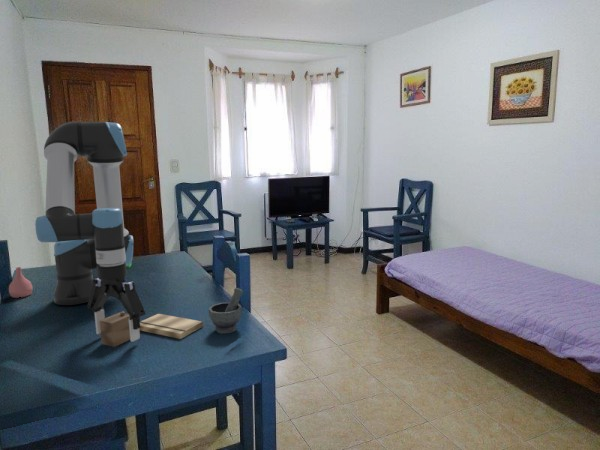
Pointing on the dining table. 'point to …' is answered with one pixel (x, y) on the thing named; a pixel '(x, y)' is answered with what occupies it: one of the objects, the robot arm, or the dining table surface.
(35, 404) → the dining table surface
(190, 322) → the plank
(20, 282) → the pink teardrop-shaped piece
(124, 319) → the wooden block
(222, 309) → the mortar and pestle
